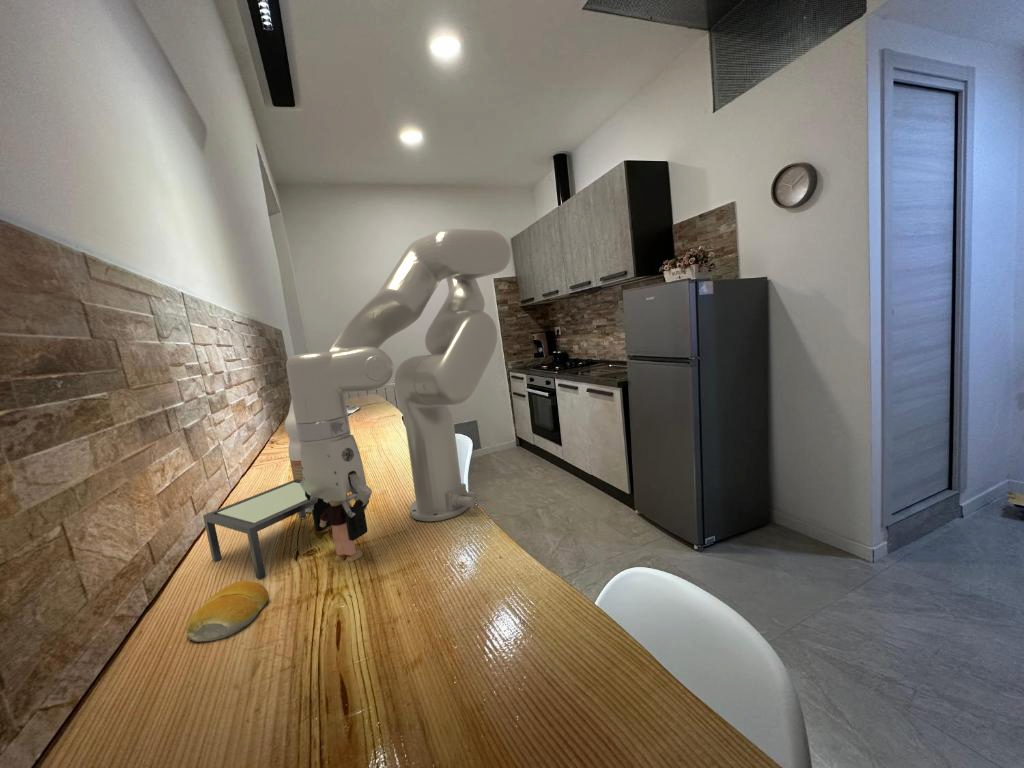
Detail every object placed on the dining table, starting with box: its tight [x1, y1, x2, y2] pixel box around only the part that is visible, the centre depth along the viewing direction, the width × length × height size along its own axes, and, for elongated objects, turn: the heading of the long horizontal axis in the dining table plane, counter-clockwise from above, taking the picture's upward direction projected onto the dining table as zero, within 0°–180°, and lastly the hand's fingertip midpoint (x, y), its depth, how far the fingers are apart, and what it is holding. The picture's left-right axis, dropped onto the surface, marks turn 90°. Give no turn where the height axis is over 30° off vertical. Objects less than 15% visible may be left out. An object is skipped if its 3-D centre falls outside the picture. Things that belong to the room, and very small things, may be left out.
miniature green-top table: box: [202, 479, 309, 580], centre depth 71 cm, size 15×17×8 cm
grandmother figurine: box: [320, 499, 364, 563], centre depth 64 cm, size 8×4×13 cm, turn 84°
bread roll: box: [186, 580, 270, 643], centre depth 52 cm, size 8×9×4 cm
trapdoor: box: [217, 482, 308, 525], centre depth 71 cm, size 12×14×3 cm
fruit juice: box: [284, 385, 332, 514], centre depth 87 cm, size 9×9×28 cm
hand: (341, 531), depth 64 cm, fingers closed on grandmother figurine, 7 cm apart
